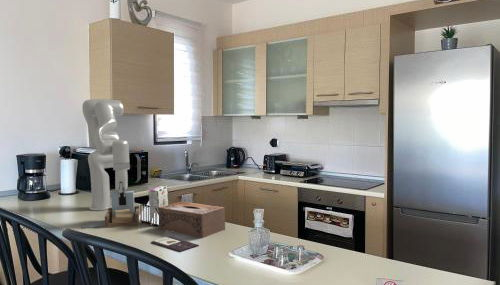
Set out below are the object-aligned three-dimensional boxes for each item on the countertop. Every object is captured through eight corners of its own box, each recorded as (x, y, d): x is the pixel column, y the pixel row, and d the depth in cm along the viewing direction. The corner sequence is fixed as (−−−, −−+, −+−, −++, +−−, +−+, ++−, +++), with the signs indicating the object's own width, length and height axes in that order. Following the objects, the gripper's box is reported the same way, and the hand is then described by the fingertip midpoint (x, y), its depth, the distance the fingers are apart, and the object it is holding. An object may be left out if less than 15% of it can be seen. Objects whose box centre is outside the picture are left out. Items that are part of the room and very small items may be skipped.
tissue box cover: (159, 229, 182) (158, 207, 182) (182, 222, 194) (181, 201, 194) (202, 238, 167) (202, 214, 167) (225, 230, 179) (224, 207, 179)
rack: (109, 220, 201) (108, 207, 201) (139, 217, 204) (139, 205, 204) (105, 227, 187) (104, 214, 187) (137, 225, 190) (137, 212, 190)
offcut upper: (115, 215, 193) (114, 210, 193) (129, 214, 196) (128, 209, 196) (116, 217, 190) (115, 212, 190) (130, 215, 193) (130, 210, 193)
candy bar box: (159, 219, 200) (158, 186, 198) (169, 219, 199) (168, 186, 197) (149, 225, 189) (148, 190, 188) (159, 226, 188) (158, 190, 187)
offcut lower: (113, 224, 194) (112, 215, 194) (133, 222, 196) (132, 214, 196) (112, 226, 190) (112, 217, 190) (132, 224, 192) (132, 216, 192)
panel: (113, 220, 199) (112, 192, 198) (134, 219, 201) (133, 190, 200) (112, 222, 196) (111, 193, 195) (134, 221, 198) (133, 192, 197)
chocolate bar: (180, 250, 150) (150, 241, 162) (180, 253, 150) (151, 244, 162) (198, 244, 157) (169, 236, 169) (198, 247, 157) (169, 238, 169)
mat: (85, 222, 197) (85, 221, 197) (108, 220, 199) (108, 220, 199) (81, 228, 187) (81, 227, 187) (105, 226, 189) (105, 225, 189)
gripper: (115, 164, 204) (116, 201, 205) (111, 168, 188) (112, 208, 189) (130, 164, 206) (132, 200, 207) (128, 168, 190) (129, 207, 191)
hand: (123, 203), depth 198 cm, fingers closed on panel, 3 cm apart
